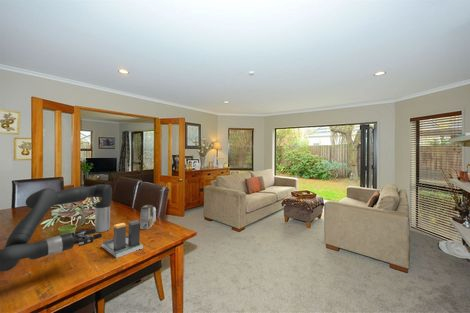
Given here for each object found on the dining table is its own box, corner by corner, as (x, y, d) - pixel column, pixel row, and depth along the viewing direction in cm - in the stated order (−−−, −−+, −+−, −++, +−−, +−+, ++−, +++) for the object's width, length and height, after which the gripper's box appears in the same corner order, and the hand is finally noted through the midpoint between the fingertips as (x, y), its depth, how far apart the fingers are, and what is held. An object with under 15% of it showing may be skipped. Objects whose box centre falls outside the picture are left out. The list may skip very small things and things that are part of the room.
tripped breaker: (113, 249, 116) (113, 225, 116) (122, 246, 120) (123, 222, 120) (116, 251, 114) (116, 226, 114) (125, 248, 118) (126, 224, 118)
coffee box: (145, 224, 162) (145, 204, 162) (153, 225, 162) (153, 204, 162) (139, 229, 153) (140, 207, 153) (148, 229, 153) (148, 208, 152)
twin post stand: (101, 246, 124) (102, 220, 124) (127, 238, 136) (127, 214, 135) (116, 258, 112) (116, 228, 111) (142, 248, 124) (143, 221, 123)
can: (147, 220, 172) (147, 206, 172) (156, 220, 173) (157, 206, 172) (144, 223, 165) (144, 208, 164) (154, 223, 165) (154, 208, 165)
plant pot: (80, 239, 134) (80, 225, 133) (64, 245, 125) (64, 231, 124) (70, 236, 137) (70, 223, 136) (54, 242, 128) (54, 228, 128)
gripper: (63, 240, 92) (103, 229, 105) (55, 232, 100) (93, 222, 113) (63, 256, 92) (103, 243, 105) (55, 246, 101) (93, 235, 114)
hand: (98, 232), depth 109 cm, fingers open, 8 cm apart
